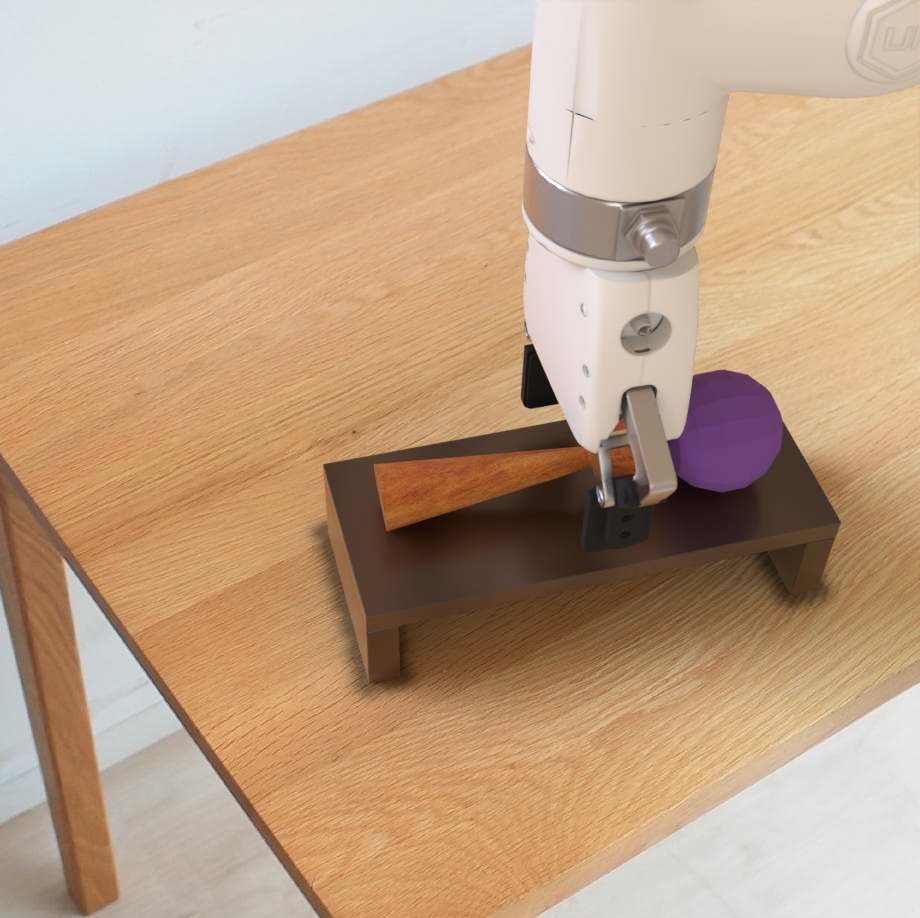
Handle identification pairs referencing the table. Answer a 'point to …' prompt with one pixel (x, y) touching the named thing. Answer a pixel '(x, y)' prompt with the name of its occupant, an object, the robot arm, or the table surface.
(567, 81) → the robot arm
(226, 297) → the table surface
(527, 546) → the shelf
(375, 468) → the kendama
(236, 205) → the table surface
